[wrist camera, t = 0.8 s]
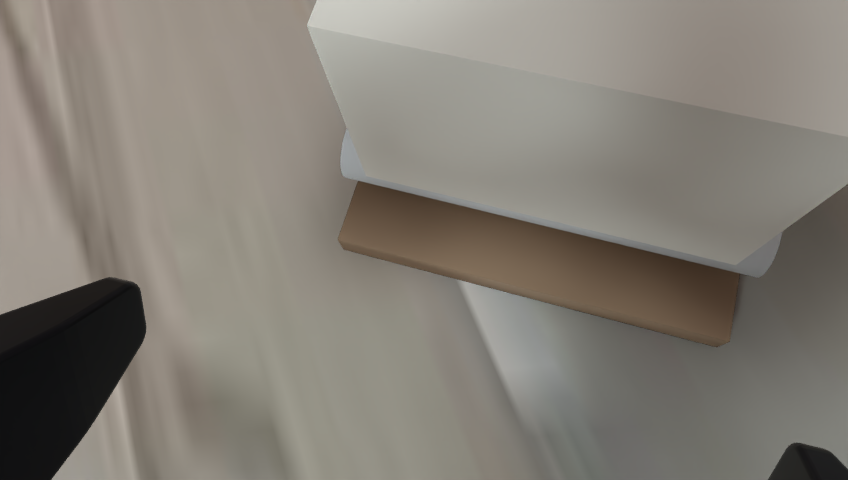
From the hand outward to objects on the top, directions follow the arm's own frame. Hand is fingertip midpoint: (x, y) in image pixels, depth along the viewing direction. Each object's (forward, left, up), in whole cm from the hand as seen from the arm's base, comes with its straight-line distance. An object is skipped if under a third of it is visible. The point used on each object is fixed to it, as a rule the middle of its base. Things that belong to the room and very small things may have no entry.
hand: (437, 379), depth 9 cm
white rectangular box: (+9, -5, -13) cm, 17 cm away
